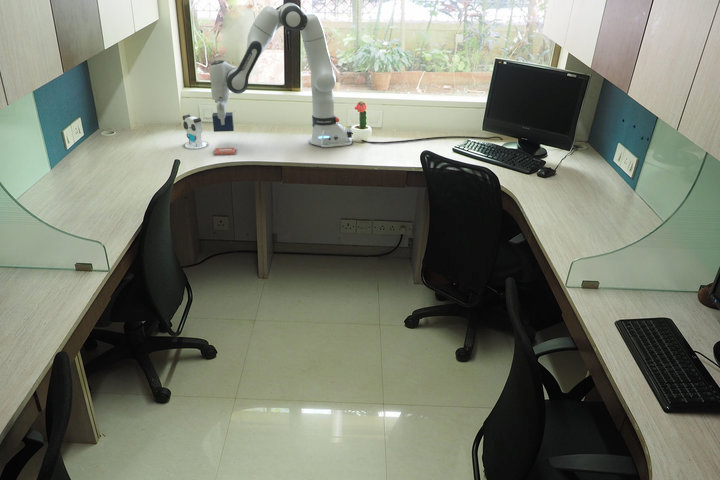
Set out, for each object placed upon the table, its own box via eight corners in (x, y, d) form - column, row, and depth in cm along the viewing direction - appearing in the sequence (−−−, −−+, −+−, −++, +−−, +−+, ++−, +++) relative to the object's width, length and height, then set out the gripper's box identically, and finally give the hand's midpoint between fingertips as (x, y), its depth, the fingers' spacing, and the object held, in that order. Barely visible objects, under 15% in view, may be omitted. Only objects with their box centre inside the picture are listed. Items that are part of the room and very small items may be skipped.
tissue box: (233, 127, 321) (232, 111, 317) (233, 131, 316) (232, 114, 312) (214, 128, 320) (212, 111, 316) (213, 131, 315) (212, 115, 311)
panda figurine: (179, 145, 326) (175, 116, 317) (197, 140, 332) (194, 112, 324) (193, 150, 319) (189, 121, 311) (211, 145, 326) (207, 116, 317)
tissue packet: (235, 149, 320) (234, 147, 319) (234, 154, 314) (234, 151, 313) (215, 150, 319) (215, 147, 318) (215, 155, 313) (214, 152, 312)
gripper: (226, 100, 301) (228, 128, 308) (227, 89, 318) (229, 116, 325) (213, 100, 300) (216, 128, 307) (215, 90, 317) (217, 116, 325)
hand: (223, 122), depth 316 cm, fingers closed on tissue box, 6 cm apart
